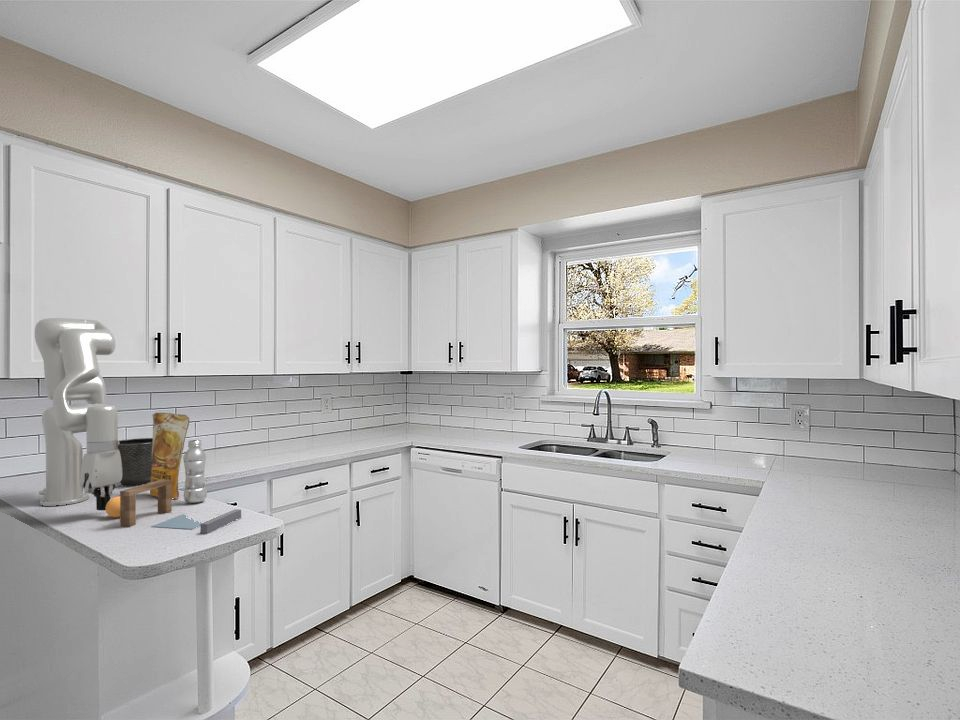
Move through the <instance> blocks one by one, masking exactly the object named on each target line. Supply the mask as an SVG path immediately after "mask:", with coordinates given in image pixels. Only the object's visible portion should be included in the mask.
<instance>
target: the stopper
mask: <svg viewBox="0 0 960 720" xmlns="http://www.w3.org/2000/svg"><path fill="white" fill-rule="evenodd" d="M219 515H220V516H218V517H216V518H213V519H211V520H209V521H206V522H204V523H201V524H200V527H199V528H200V530H199V531H200V534H204V535H207V534H210V533H212V532H214V531H217V530H219V529H221V528H223V527H225V526H228V525H229V524H228V523H230V522H232V521H234V520H236V519H239V518H241V519H242V509H233V510H230V511H228V512H225V513H223V514H219ZM239 520H240V519H239ZM236 521H237V520H236ZM234 522H235V521H234ZM232 523H233V522H232ZM227 524H228V525H227ZM230 524H231V523H230ZM224 525H225V526H224ZM220 527H221V528H220ZM218 528H219V529H218ZM216 529H217V530H216Z"/></svg>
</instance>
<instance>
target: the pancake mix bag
mask: <svg viewBox="0 0 960 720" xmlns="http://www.w3.org/2000/svg"><path fill="white" fill-rule="evenodd" d="M189 425H190V417H189V416H188V415H186V414H176V413H171V412H155V413H153V414H152V438H153V439H152V443H153V445H152V471H151V482H150V483H152V482H155V481H159V480H162V479H167V480H171V496H172V498H175V499H174V500H178V499H179V498H180V491H179V475H180V468H181V462H182V455H183V450H184V448H185V447H184V446H185V442H186V437H187V434H188V429H189ZM149 496H151V497H153V496H155V497H154V498H157V497H158V488H155V489H152V490H149ZM178 497H179V498H178ZM177 498H178V499H177Z"/></svg>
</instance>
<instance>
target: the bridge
mask: <svg viewBox="0 0 960 720" xmlns="http://www.w3.org/2000/svg"><path fill="white" fill-rule="evenodd" d="M155 488H158V498H157V514H165V513H167V514H169V513H172V512H171V511H172V510H173V509H172V506H173V505H172V500H173V499H172V496H171V480H167V479H162V480H159V481H155V482H152V483H151V482H150V483H148V484H144V485H139V486H133V487H131V488H128V489H123V490H120V491H119V496H120V517H119V518H120V520H119V521H120V524H119V525H120V527H122V528H123V527H124V528H131V527H134V526H136V523H137V521H136V519H137V515H136V514H137V513H136V511H137V509H136V507H137V505H136V504H137V503H136V495H138V494H141V493H144V492H149V491H150V490H152V489H155Z"/></svg>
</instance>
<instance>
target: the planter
mask: <svg viewBox="0 0 960 720" xmlns="http://www.w3.org/2000/svg"><path fill="white" fill-rule="evenodd" d="M152 439H153V437H145V438H144V437H143V438H140V437H139V438H129V439H121V440H119V439H118V441H119V442H120V444H119V445H118V450H119V451H120V455H121V461H122V480H121V481H120V483H121V484H120V485H121V486H122V485H123V487H137V486H136V485H139V486H141V485H142V484H147V483H151V471H152V445H153V443H152Z"/></svg>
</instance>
